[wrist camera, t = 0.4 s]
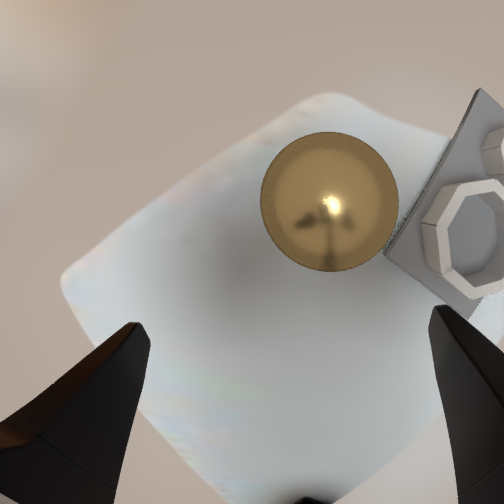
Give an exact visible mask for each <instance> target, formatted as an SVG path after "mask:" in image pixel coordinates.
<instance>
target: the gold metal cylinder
mask: <svg viewBox="0 0 504 504" xmlns="http://www.w3.org/2000/svg"><path fill="white" fill-rule="evenodd" d="M260 205H261V213H262V218H263V221H264V225H265V227H266V229H267V232H268V234H269V235H270V237H271V239H272V240H273V242H274V243H275V244H276V246H277V247H278V248H279V249H280V250H281V251H282V252H283V253H284V254H285V255H286V256H288V257H289V258H290V259H291V260H293V261H295V262H296V263H298V264H300V265H302V266H305V267H307V268H310V269H314V270H318V271H325V272H336V271H344V270H348V269H352V268H354V267H357V266H359V265H361V264H363V263H365V262H367V261H368V260H370V259H371V258H372V257H374V256H375V255H376V254H377V253H378V252H379V251H380V250H381V249H382V248H383V246H384V245H385V244H386V242H387V241H388V239H389V238H390V236H391V234H392V232H393V229H394V227H395V224H396V220H397V216H398V208H399V198H398V191H397V186H396V183H395V179H394V177H393V174H392V172H391V170H390V168H389V167H388V165H387V163H386V162H385V161H384V159H383V158H382V157H381V156H380V155H379V154H378V153H377V152H376V151H375V150H374V149H373V148H372V147H370V146H369V145H368V144H366V143H365V142H363V141H361V140H360V139H357V138H355V137H353V136H350V135H346V134H343V133H336V132H320V133H314V134H310V135H306V136H304V137H302V138H299V139H297V140H295V141H294V142H292V143H290V144H289V145H288V146H286V147H285V148H284V149H283V150H282V151H281V152H280V153H279V154H278V155H277V156H276V157H275V159H274V160H273V161H272V163H271V164H270V166H269V168H268V170H267V172H266V174H265V177H264V179H263V183H262V188H261V196H260Z"/></svg>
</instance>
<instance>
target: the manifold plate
mask: <svg viewBox="0 0 504 504" xmlns="http://www.w3.org/2000/svg"><path fill="white" fill-rule="evenodd" d="M384 255H385V256H386V257H387V258H389V259H390V260H391V261H393V262H394V263H395V264H397V265H398V266H399V267H401V268H402V269H403V270H405V271H406V272H407V273H409V274H410V275H411V276H413V277H414V278H415V279H417V280H418V281H419V282H421V283H422V284H423V285H424V286H426V287H427V288H428V289H430V290H431V291H432V292H433V293H435V294H436V295H437V296H438V297H440V298H441V299H442V300H443V301H445V302H446V303H447V304H448V305H450V306H451V307H452V308H453V309H455V310H456V311H457V312H458V313H459V314H461V315H462V316H463V317H464V318H466V319H467V320H468V319H469V318H470V316H471V315H472V313H473V312H474V311H475V309H476V308H477V306H478V305H479V303H480V302H481V300H482V299H483V297H484V296H487V295H490V294H493V293H496V292H499V291H503V290H504V108H502V107H501V106H500V105H499V104H498V103H497V102H496V101H495V100H494V99H493V98H492V97H491V96H490V95H489V94H487V93H486V92H485V91H484V90H483V89H482V88H479V89H478V90H476V91H475V94H474V95H473V98H472V100H471V102H470V104H469V106H468V109H467V111H466V113H465V115H464V117H463V119H462V121H461V123H460V125H459V127H458V129H457V131H456V133H455V135H454V137H453V139H452V141H451V143H450V145H449V147H448V149H447V150H446V152H445V154H444V156H443V158H442V160H441V162H440V163H439V165H438V167H437V169H436V171H435V172H434V174H433V176H432V178H431V179H430V181H429V183H428V185H427V186H426V188H425V190H424V192H423V193H422V195H421V197H420V198H419V200H418V202H417V203H416V205H415V207H414V208H413V210H412V212H411V213H410V215H409V216H408V218H407V220H406V221H405V223H404V224H403V226H402V228H401V229H400V231H399V232H398V234H397V235H396V237H395V238H394V240H393V242H392V243H391V245H390V246H389V248H388V249H387V251H386V252H385V254H384Z"/></svg>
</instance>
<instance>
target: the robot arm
mask: <svg viewBox="0 0 504 504" xmlns="http://www.w3.org/2000/svg"><path fill="white" fill-rule="evenodd" d="M428 332H429V338H430V343H431V349H432V355H433V362H434V368H435V374H436V379H437V384H438V388H439V392H440V396H441V400H442V404H443V409H444V413H445V418H446V422H447V428H448V433H449V438H450V444H451V449H452V455H453V461H454V469H455V476H456V484H457V493H458V504H504V353H503V352H502V351H501V350H500V349H499V348H498V347H497V346H495V345H494V344H493V343H492V342H491V341H490V340H489V339H488V338H486V337H485V336H484V335H483V334H482V333H481V332H479V331H478V330H477V329H476V328H475V327H474V326H472V325H471V324H470V323H469V322H468V321H467V320H465V319H464V318H463V317H462V316H461V315H459V314H458V313H457V312H456V311H455V310H453V309H452V308H451V307H450V306H448V305H446V304H444V305H437V306H435V307H434V308H433V311H432V315H431V319H430V323H429V327H428ZM150 346H151V343H150V339H149V337H148V335H147V333H146V331H145V329H144V328H143V326H142V324H141V323H139V322H129V323H127V324H126V325H125V326H123V327H122V328H121V329H120V330H118V331H117V332H116V333H115V334H113V335H112V336H111V337H110V338H108V339H107V340H106V341H105V342H103V343H102V344H101V345H100V346H98V347H97V348H96V349H95V350H94V351H92V352H91V353H90V354H88V355H87V356H86V357H85V358H84V359H82V360H81V361H80V362H79V363H77V364H76V365H75V366H74V367H73V368H71V369H70V370H69V371H68V372H66V373H65V374H64V375H63V376H62V377H60V378H59V379H58V380H57V381H55V383H54V384H52V385H51V386H49V387H48V388H47V389H46V390H44V391H43V392H42V393H41V394H39V395H38V396H37V397H36V398H34V399H33V400H32V401H30V402H29V403H27V404H26V405H25V406H23V407H22V408H20V409H19V410H18V411H16V412H15V413H13V414H12V415H10V416H9V417H8V418H6V419H5V420H3V421H2V422H0V504H113V503H114V499H115V495H116V491H115V490H116V489H117V485H118V481H119V476H120V472H121V468H122V463H123V459H124V455H125V451H126V447H127V443H128V439H129V436H130V432H131V428H132V424H133V420H134V417H135V413H136V410H137V406H138V402H139V399H140V395H141V392H142V388H143V384H144V379H145V373H146V368H147V362H148V357H149V352H150ZM295 504H323V503H321V502H318V501H315V500H313V499H310V498H303V499H301V500H300V501H298V502H297V503H295Z"/></svg>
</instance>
